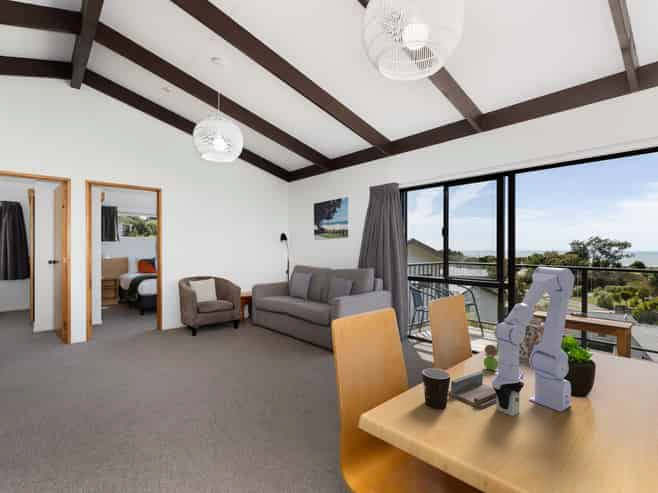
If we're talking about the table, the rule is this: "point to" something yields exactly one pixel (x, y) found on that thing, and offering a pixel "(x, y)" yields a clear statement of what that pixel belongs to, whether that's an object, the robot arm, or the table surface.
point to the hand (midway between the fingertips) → (507, 406)
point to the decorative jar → (531, 338)
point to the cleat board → (473, 390)
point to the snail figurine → (491, 357)
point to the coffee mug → (436, 387)
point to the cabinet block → (510, 404)
